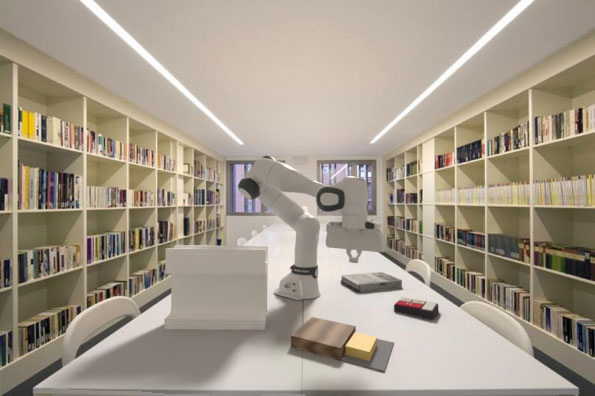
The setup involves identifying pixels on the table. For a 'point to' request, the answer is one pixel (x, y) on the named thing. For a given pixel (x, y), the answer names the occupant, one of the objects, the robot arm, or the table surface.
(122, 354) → the table surface
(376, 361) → the mat
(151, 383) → the table surface
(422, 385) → the table surface
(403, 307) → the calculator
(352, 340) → the yellow rectangular block
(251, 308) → the block
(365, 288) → the hard drive
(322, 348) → the panel
